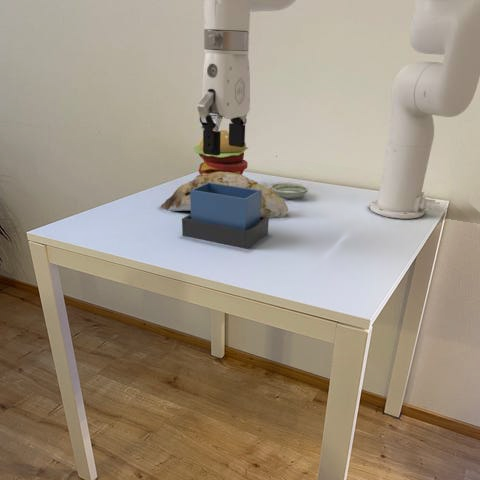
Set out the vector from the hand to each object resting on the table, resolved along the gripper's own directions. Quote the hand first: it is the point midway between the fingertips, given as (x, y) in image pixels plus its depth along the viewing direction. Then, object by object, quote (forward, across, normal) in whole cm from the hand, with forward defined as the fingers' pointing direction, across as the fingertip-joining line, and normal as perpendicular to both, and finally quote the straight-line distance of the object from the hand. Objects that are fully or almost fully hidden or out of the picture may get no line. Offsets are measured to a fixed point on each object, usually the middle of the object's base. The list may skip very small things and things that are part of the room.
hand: (224, 150), depth 89 cm
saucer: (+17, +34, -1) cm, 38 cm away
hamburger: (+17, +31, +17) cm, 39 cm away
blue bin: (+16, 0, 0) cm, 16 cm away
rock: (+17, +16, +8) cm, 25 cm away
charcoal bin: (+17, 0, 0) cm, 17 cm away
